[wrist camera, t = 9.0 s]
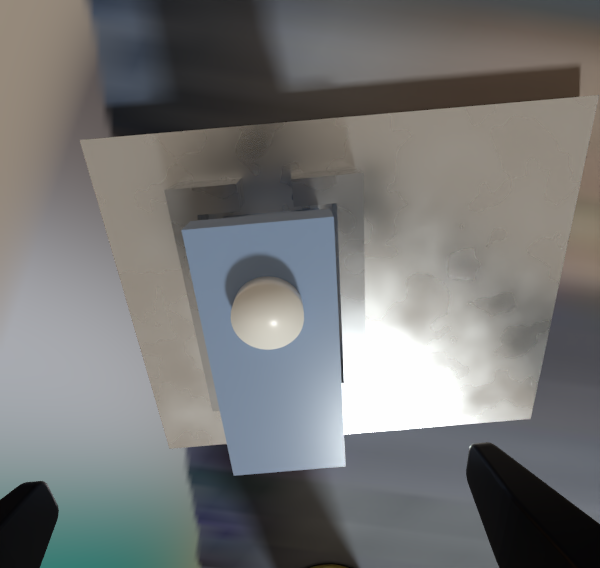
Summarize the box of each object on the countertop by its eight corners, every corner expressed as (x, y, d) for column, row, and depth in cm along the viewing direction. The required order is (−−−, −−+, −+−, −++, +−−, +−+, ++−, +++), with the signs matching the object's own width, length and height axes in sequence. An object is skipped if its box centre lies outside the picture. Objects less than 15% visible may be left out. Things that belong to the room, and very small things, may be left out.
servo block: (328, 366, 19) (347, 481, 13) (249, 372, 19) (231, 490, 13) (317, 183, 15) (336, 222, 9) (220, 192, 15) (175, 236, 9)
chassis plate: (520, 406, 21) (551, 444, 19) (174, 434, 22) (159, 476, 19) (580, 97, 15) (640, 90, 13) (92, 139, 15) (52, 141, 13)
